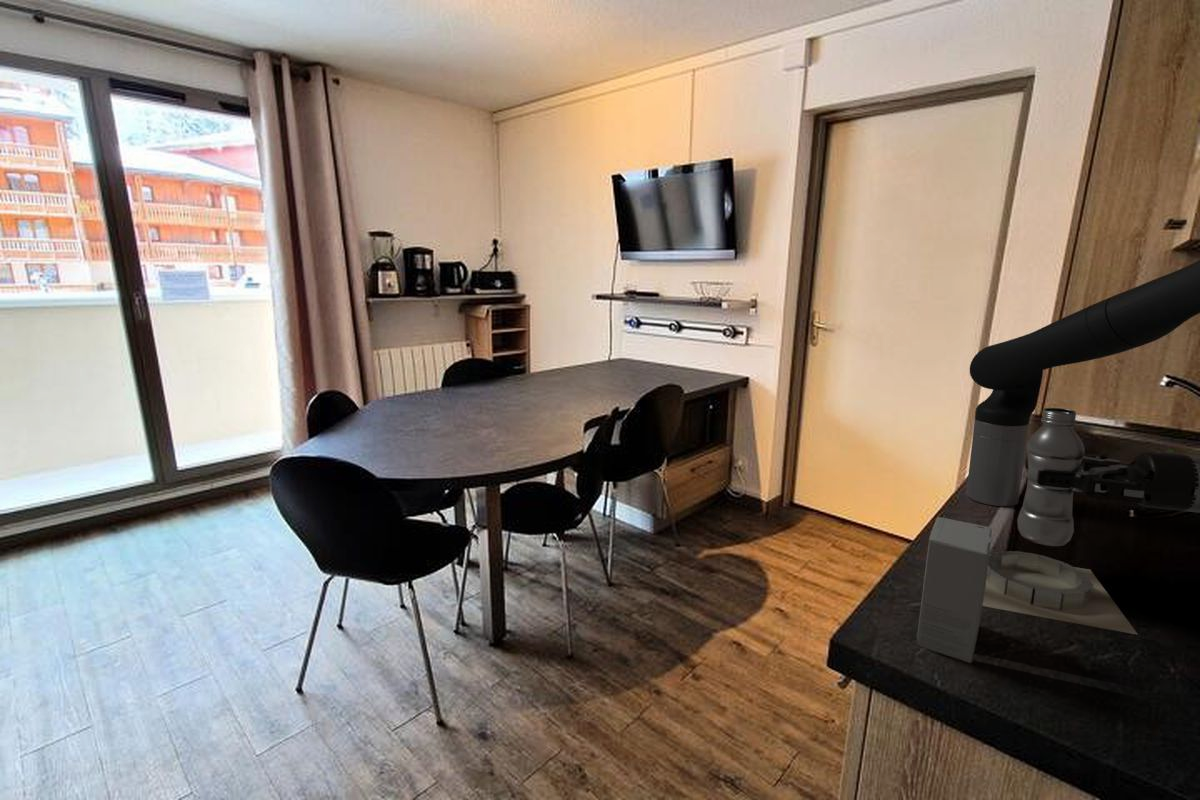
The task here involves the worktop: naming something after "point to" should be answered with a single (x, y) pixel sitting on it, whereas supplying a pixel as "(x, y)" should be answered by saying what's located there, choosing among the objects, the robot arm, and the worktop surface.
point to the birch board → (1093, 614)
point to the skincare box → (954, 588)
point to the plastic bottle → (1044, 505)
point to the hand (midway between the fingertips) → (1032, 469)
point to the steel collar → (1037, 594)
